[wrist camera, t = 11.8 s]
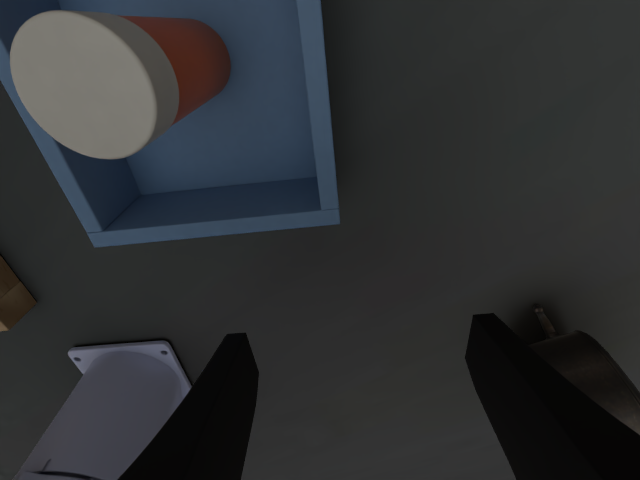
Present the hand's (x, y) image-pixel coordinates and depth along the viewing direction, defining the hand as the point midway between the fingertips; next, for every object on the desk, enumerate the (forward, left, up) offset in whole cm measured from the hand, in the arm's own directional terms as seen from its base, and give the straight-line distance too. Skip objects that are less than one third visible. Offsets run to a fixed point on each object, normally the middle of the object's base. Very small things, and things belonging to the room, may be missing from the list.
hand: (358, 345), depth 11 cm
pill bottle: (+8, +6, -10) cm, 14 cm away
